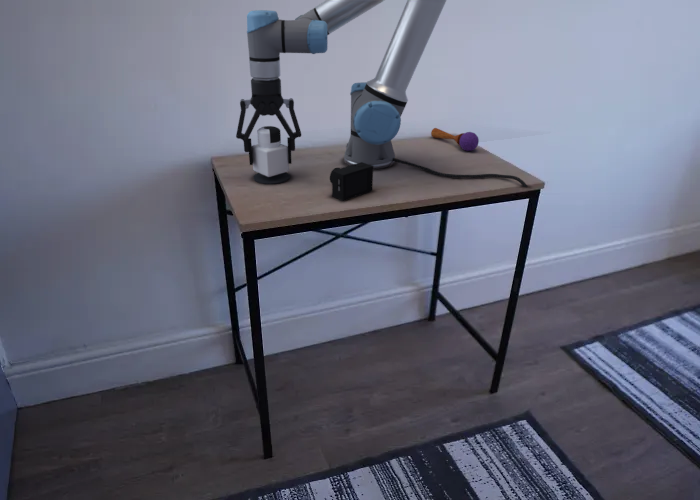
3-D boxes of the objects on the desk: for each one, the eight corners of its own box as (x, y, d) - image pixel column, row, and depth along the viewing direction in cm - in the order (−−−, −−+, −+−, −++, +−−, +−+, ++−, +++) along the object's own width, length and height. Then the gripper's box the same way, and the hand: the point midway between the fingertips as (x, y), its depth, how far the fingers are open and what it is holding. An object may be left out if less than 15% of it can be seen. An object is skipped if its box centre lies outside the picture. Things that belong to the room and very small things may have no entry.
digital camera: (358, 185, 141) (358, 160, 137) (372, 191, 137) (373, 165, 134) (328, 195, 134) (328, 169, 131) (343, 201, 131) (343, 174, 128)
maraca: (443, 124, 182) (484, 134, 166) (439, 141, 184) (480, 153, 168) (429, 123, 178) (470, 133, 163) (426, 141, 180) (466, 152, 165)
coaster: (295, 173, 148) (295, 172, 148) (281, 186, 140) (281, 184, 139) (263, 170, 151) (262, 168, 150) (247, 181, 142) (247, 180, 142)
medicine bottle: (273, 165, 149) (271, 122, 143) (289, 171, 144) (287, 128, 139) (252, 170, 144) (249, 127, 139) (268, 177, 140) (265, 133, 134)
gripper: (308, 74, 137) (310, 157, 148) (221, 75, 134) (229, 159, 145) (311, 80, 131) (312, 165, 141) (219, 81, 128) (228, 168, 138)
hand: (270, 162), depth 143 cm, fingers closed on medicine bottle, 10 cm apart
